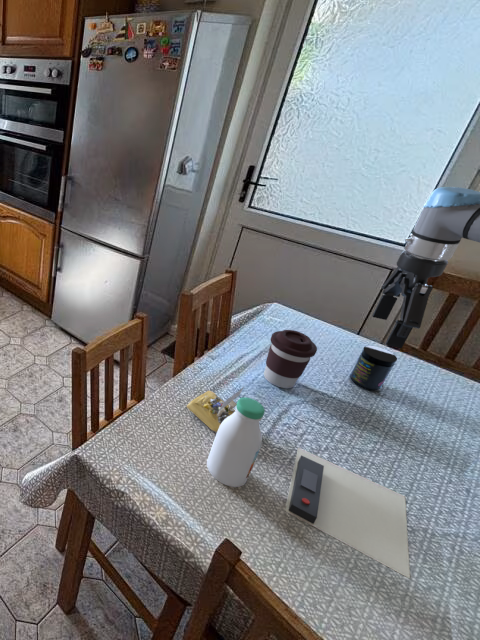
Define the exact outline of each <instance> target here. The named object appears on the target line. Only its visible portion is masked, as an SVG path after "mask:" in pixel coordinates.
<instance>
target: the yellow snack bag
mask: <svg viewBox="0 0 480 640" xmlns="http://www.w3.org/2000/svg"><path fill="white" fill-rule="evenodd" d="M244 388H245V386H243V387H242V388H240V389H239V390H238V391H236V392H235V393H233V394H232V395H231V396H229V397H228V398H227V399H225V400H223V399H222V398H220V397H219V396H218V395H217V394H216V393H215V392H213V391H211V390H207V391H205V392H204V393H202V394H200V395H198V396H196V397H195V398H194V399H192V400H191V401H190V402H188V404H186V408H187V409H188V410H189V411H190V412H191V413H193V415H195V417H197V418H198V419H199V420H200V422H202V423H203V424H205V426H206V427H208V428H209V429H210V430H211V431H213V432H215V433H217V431H218V429H219V427H220V425H221V423H222V422H223V420H224V419H226V418H227V417H228V416H230V415H232V414H233V413H234V412H235V411H236V409H235V407H236V405H237V402H235V401H234V400H236V399H237V398H238V397H239V396H240V395H241V393H242V391H243V390H244Z"/></svg>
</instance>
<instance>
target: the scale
mask: <svg viewBox="0 0 480 640" xmlns="http://www.w3.org/2000/svg"><path fill="white" fill-rule="evenodd" d="M301 455H302V456H304V457H306V458H308V459H310V460H312V461H315V462H317V463H319V464H321V465H323V466H324V469H323V476H322V484H321V491H320V499H319V506H318V514H317V518H316V520H315V522H314V524H312V523H311V522H309V521H307V520H305V519H303V518H301V517H300V516H298V515H296V514H294V513H292V512H290V511H289V506H290V501H291V496H292V491H293V486H294V481H295V476H296V470H297V465H298V461H299V459H300V457H301ZM285 504H286V505H285V510H284V511H285V512H286V513H288V514H290V515H292V516H293V517H295V518H297V519H299V520H300V521H302V522H304V523H306V524H308V525H310V526H312V527H314V528H316V529H317V530H319V531H321V532H323V533H324V534H326V535H328V536H329V537H331V538H333V539H336V540H337V541H340V542H341V543H343V544H345V545H347V546H349V547H350V548H352V549H354V550H356V551H357V552H359V553H361V554H363V555H365V556H366V557H369V558H370V559H372V560H375V561H376V562H378V563H379V564H381V565H383V566H386V567H387V568H389V569H391V570H392V571H395V572H397V573H398V574H400V575H402V576H404V577H406V578H407V579H409V580H411V573H410V572H411V570H410V556H409V555H410V554H409V538H408V522H407V519H408V518H407V503H406V495H404V494H401V493H399V492H396V491H394V490H393V489H390V488H388V487H386V486H383V485H381V484H379V483H377V482H375V481H372V480H371V479H368V478H366V477H364V476H362V475H360V474H358V473H355V472H353V471H351V470H349V469H346V468H344V467H342V466H340V465H337V464H335V463H333V462H331V461H329V460H327V459H325V458H322V457H320V456H319V455H316V454H313V453H311V452H309V451H308V450H305V449H303V448H301V447H297V450H296V455H295V461H294V465H293V469H292V475H291V480H290V485H289V489H288V495H287V499H286V503H285Z"/></svg>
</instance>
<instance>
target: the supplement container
mask: <svg viewBox="0 0 480 640" xmlns="http://www.w3.org/2000/svg"><path fill="white" fill-rule="evenodd" d="M397 361H398V357H397V356H396V355H395V354H394V353H393V352H391V351H389V350H387V349H385V348H383V347H379V346H375V345H374V346H373V345H366V346H363V348H362V350H361V351H360V355H359V356H358V358H357V360H356V363H355V364H354V366H353V368H352V370H351V373H350V374H349V380H350V381H351V383H353V385H354V384H355V385H356V386H357V387H359V388H361V389H363V390H366V391H370V392H376V391H380V390H381V389H382V388H383V386H384V384H385V382H386V380H387V378H388V377H389V375H390V373H391V371H392V370H393V368H394V366H395V365H396V363H397Z"/></svg>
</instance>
